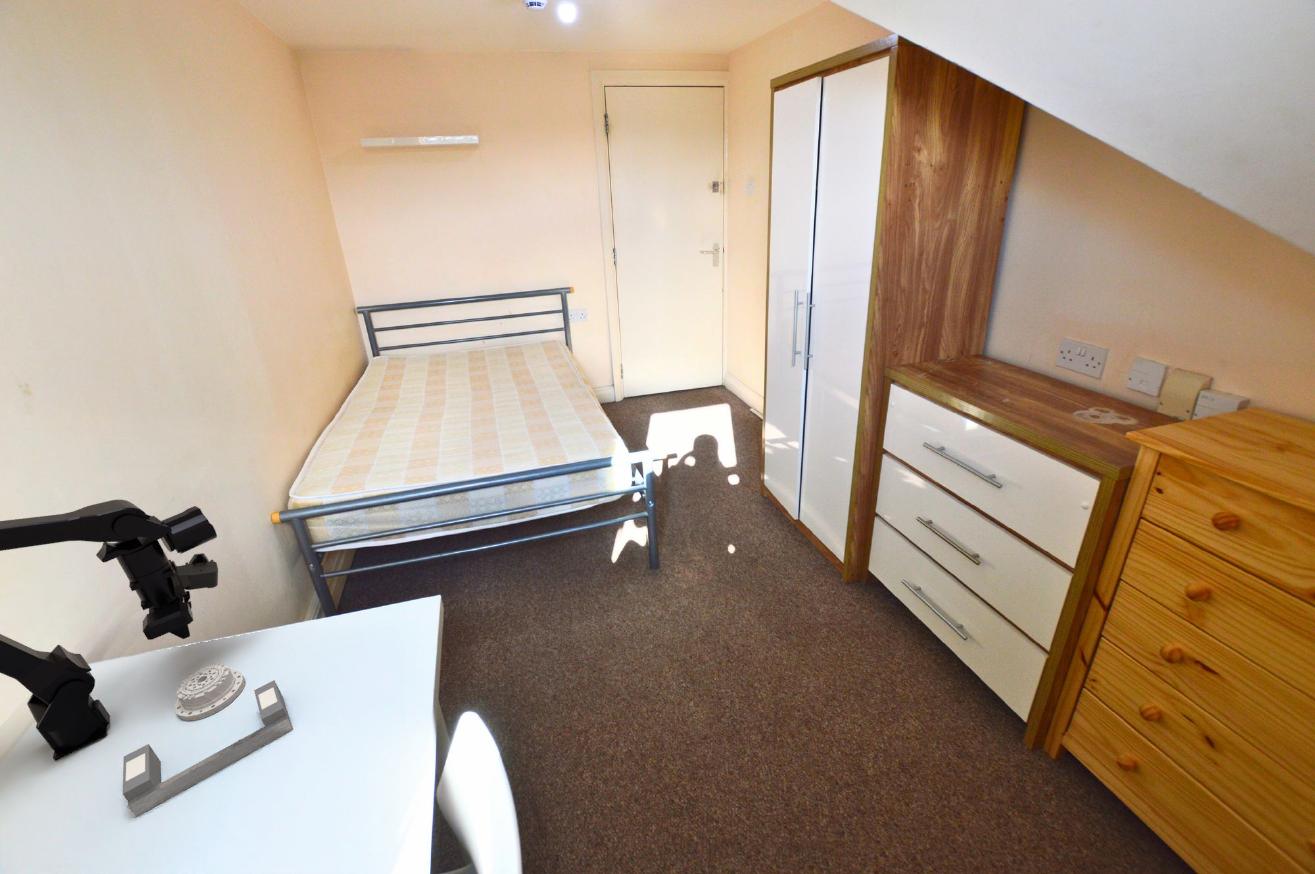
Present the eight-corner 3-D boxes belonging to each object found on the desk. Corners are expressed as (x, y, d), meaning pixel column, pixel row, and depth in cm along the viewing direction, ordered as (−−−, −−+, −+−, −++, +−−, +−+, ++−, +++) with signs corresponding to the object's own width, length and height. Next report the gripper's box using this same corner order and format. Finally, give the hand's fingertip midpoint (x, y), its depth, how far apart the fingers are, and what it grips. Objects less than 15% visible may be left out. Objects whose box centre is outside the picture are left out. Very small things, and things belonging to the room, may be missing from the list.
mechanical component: (163, 723, 96) (218, 721, 95) (151, 704, 94) (207, 702, 94) (207, 675, 105) (258, 673, 105) (197, 658, 103) (249, 655, 103)
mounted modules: (135, 811, 82) (121, 793, 80) (136, 773, 87) (123, 755, 86) (291, 725, 93) (282, 707, 91) (282, 696, 99) (273, 678, 97)
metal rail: (135, 817, 81) (127, 805, 80) (135, 811, 82) (127, 800, 81) (292, 729, 92) (287, 718, 91) (291, 725, 93) (286, 714, 92)
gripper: (208, 568, 96) (244, 639, 103) (200, 527, 109) (232, 592, 116) (123, 601, 90) (167, 674, 96) (125, 553, 103) (164, 620, 110)
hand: (186, 636), depth 105 cm, fingers closed
